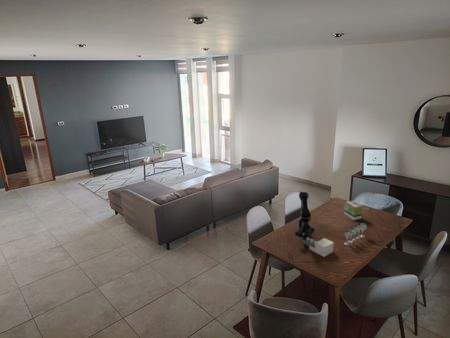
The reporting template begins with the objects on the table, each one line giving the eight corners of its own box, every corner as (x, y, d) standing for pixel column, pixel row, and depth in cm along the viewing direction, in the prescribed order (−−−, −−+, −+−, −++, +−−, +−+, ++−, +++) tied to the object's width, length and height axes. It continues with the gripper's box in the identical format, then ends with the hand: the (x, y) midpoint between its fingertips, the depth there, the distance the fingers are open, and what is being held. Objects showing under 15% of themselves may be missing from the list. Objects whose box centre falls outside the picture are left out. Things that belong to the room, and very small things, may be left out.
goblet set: (347, 246, 266) (349, 232, 262) (342, 243, 271) (343, 229, 267) (366, 236, 281) (368, 223, 277) (361, 233, 285) (362, 220, 282)
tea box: (343, 214, 325) (345, 201, 321) (351, 213, 328) (353, 200, 323) (353, 220, 311) (354, 207, 307) (361, 218, 314) (363, 205, 310)
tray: (302, 243, 273) (303, 237, 271) (307, 241, 276) (307, 235, 274) (315, 249, 262) (315, 244, 260) (320, 247, 265) (320, 241, 263)
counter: (309, 248, 263) (309, 239, 261) (318, 244, 270) (318, 235, 267) (323, 256, 251) (324, 247, 249) (332, 251, 258) (333, 242, 255)
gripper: (304, 231, 259) (303, 247, 263) (319, 224, 269) (318, 240, 273) (295, 226, 267) (294, 241, 272) (309, 220, 277) (308, 235, 282)
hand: (304, 240), depth 275 cm, fingers closed, pressing on tray
